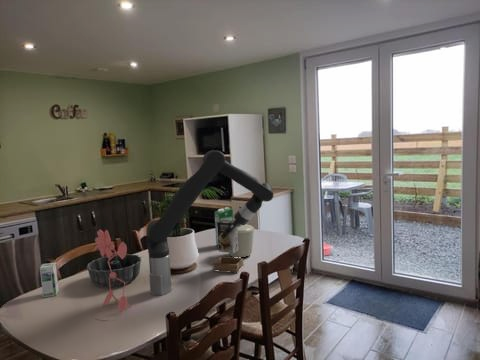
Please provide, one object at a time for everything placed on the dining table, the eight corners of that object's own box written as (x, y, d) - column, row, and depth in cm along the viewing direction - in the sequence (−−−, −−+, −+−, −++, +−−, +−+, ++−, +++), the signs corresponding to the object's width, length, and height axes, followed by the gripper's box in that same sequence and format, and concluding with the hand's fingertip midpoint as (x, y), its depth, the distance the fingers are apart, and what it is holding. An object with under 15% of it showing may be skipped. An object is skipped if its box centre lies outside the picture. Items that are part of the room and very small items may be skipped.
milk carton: (216, 245, 237) (214, 208, 234) (228, 243, 241) (227, 206, 238) (221, 249, 229) (219, 210, 226) (234, 246, 233) (232, 208, 230)
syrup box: (42, 297, 167) (39, 267, 165) (45, 292, 172) (42, 263, 170) (56, 296, 168) (53, 265, 166) (58, 291, 174) (55, 261, 172)
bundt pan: (98, 272, 196) (96, 254, 195) (147, 269, 198) (145, 251, 197) (80, 293, 170) (78, 273, 169) (137, 289, 172) (135, 269, 171)
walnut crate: (237, 273, 187) (236, 265, 186) (214, 271, 191) (213, 263, 191) (243, 266, 197) (243, 258, 196) (221, 264, 201) (221, 256, 200)
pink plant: (109, 296, 165) (101, 221, 160) (143, 312, 149) (135, 229, 144) (76, 310, 153) (66, 230, 148) (109, 329, 137) (100, 239, 132)
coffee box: (218, 251, 192) (216, 222, 190) (224, 248, 198) (222, 219, 196) (233, 253, 188) (231, 223, 186) (238, 249, 193) (237, 220, 191)
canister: (256, 260, 206) (254, 224, 203) (224, 261, 206) (222, 225, 204) (255, 250, 224) (254, 217, 221) (226, 251, 224) (224, 218, 222)
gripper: (244, 206, 194) (224, 226, 199) (235, 211, 181) (214, 233, 186) (253, 216, 193) (234, 236, 198) (245, 222, 180) (225, 244, 185)
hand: (225, 235), depth 192 cm, fingers closed on coffee box, 7 cm apart
